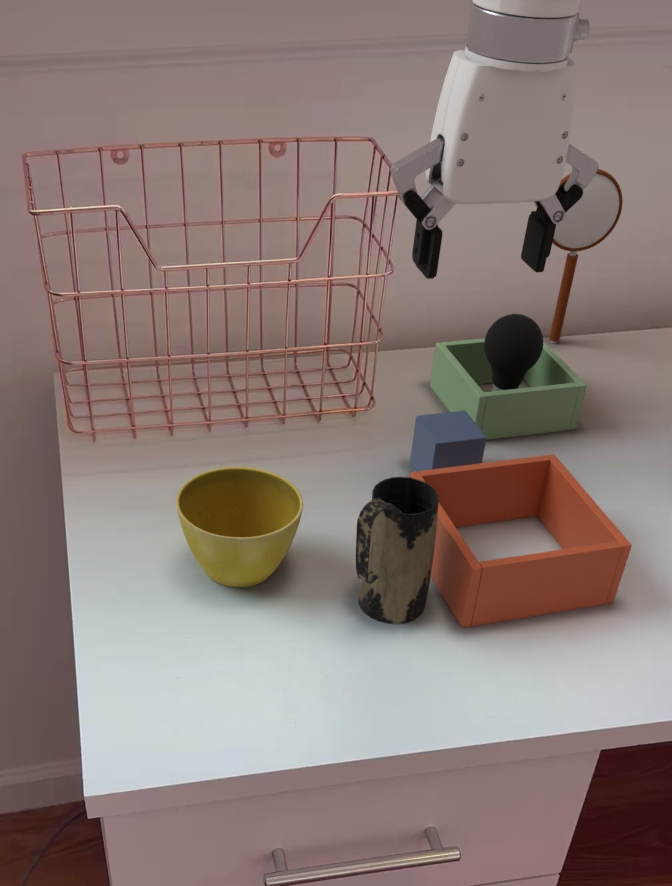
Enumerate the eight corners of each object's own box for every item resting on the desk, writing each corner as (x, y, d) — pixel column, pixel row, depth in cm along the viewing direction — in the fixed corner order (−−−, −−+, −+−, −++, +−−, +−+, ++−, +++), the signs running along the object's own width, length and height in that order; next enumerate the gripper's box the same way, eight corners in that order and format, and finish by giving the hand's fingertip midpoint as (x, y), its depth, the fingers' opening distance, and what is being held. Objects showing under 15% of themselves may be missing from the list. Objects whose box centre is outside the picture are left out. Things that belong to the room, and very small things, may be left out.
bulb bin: (526, 380, 114) (536, 333, 110) (574, 434, 106) (587, 385, 102) (428, 390, 111) (435, 342, 107) (471, 447, 103) (479, 396, 99)
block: (456, 464, 100) (465, 410, 96) (476, 493, 97) (487, 437, 93) (408, 470, 99) (415, 415, 95) (427, 499, 96) (435, 443, 92)
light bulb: (536, 402, 109) (556, 313, 102) (518, 427, 105) (538, 335, 99) (484, 388, 111) (500, 299, 104) (465, 411, 107) (480, 320, 100)
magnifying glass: (585, 343, 122) (628, 165, 108) (590, 350, 120) (634, 171, 107) (514, 344, 120) (549, 165, 107) (518, 351, 119) (554, 171, 106)
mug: (385, 576, 87) (400, 454, 79) (439, 606, 84) (460, 482, 76) (325, 621, 82) (335, 497, 74) (380, 654, 80) (396, 528, 72)
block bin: (539, 515, 95) (554, 453, 90) (611, 608, 85) (632, 545, 81) (401, 535, 91) (409, 471, 87) (460, 634, 82) (473, 569, 77)
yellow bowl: (279, 527, 91) (281, 458, 87) (315, 598, 84) (320, 527, 80) (167, 545, 89) (163, 475, 84) (195, 619, 82) (193, 547, 77)
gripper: (601, 25, 79) (552, 247, 91) (389, 23, 75) (366, 256, 86) (650, 49, 74) (592, 282, 85) (426, 49, 70) (396, 294, 81)
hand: (479, 269), depth 86 cm, fingers open, 9 cm apart
